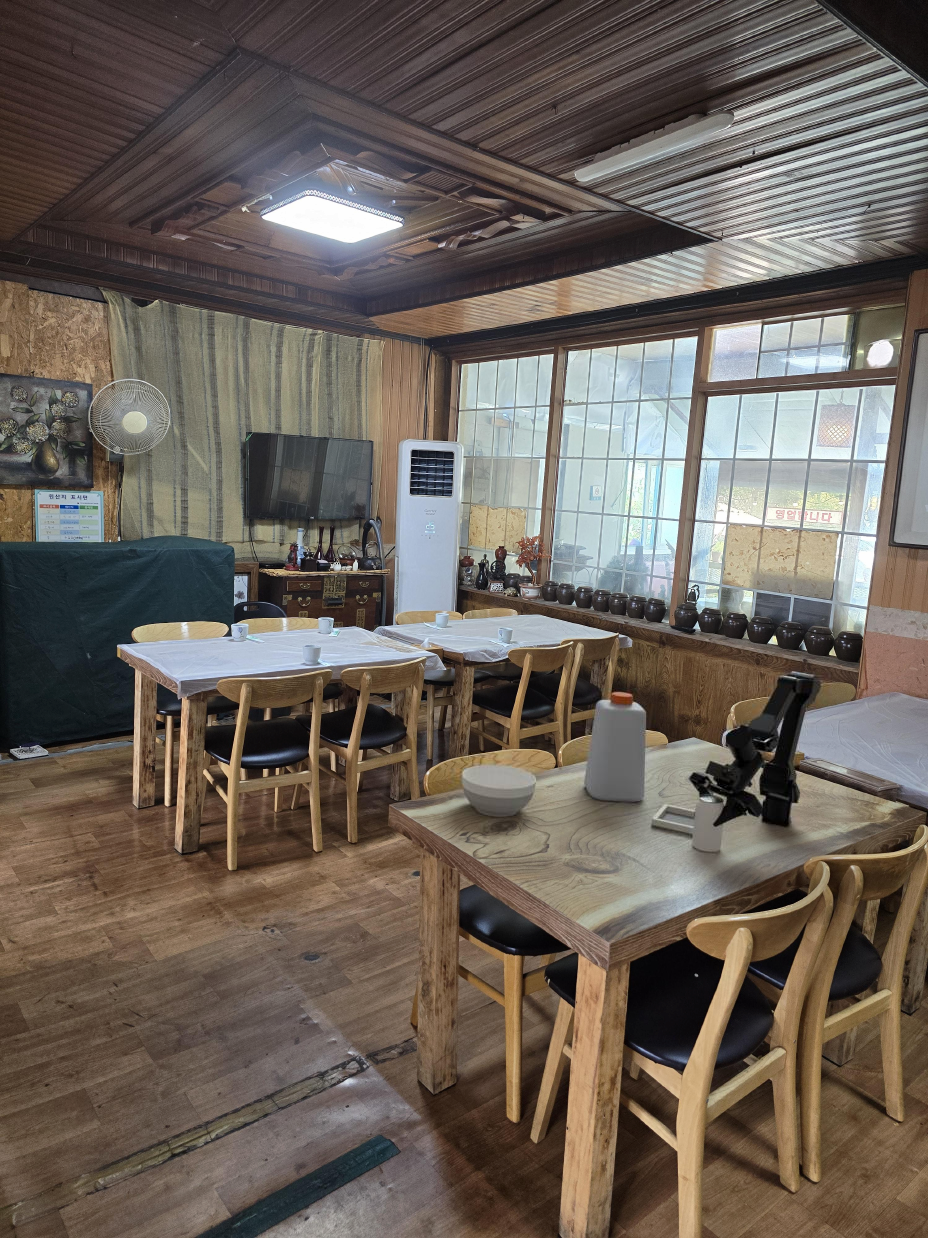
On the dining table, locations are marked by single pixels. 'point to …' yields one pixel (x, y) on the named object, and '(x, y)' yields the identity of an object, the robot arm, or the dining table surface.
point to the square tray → (674, 819)
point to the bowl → (498, 789)
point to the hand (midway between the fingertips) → (704, 821)
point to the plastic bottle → (617, 750)
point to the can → (707, 824)
